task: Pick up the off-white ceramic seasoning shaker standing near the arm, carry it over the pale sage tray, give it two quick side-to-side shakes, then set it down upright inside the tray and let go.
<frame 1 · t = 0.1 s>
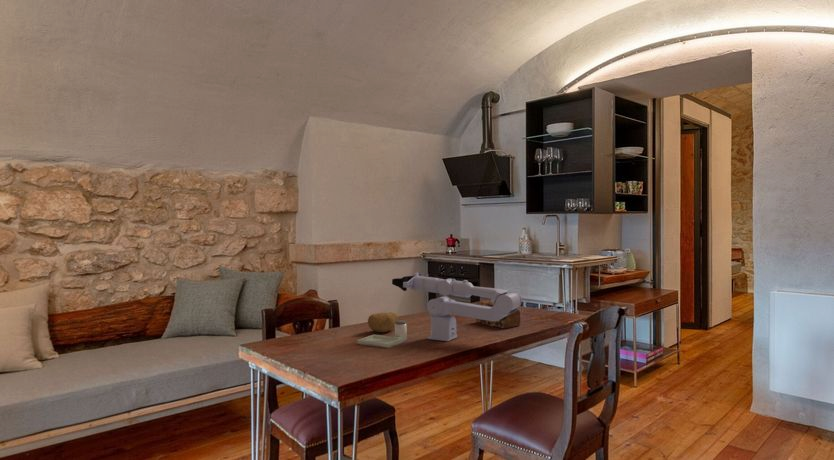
hand: (398, 280, 202), 22 cm above the table, tool horizontal, fingers open, 7 cm apart
bread: (497, 325, 216), on the table
tray: (380, 343, 186), on the table
potato: (383, 332, 206), on the table
shaker: (400, 339, 192), on the table
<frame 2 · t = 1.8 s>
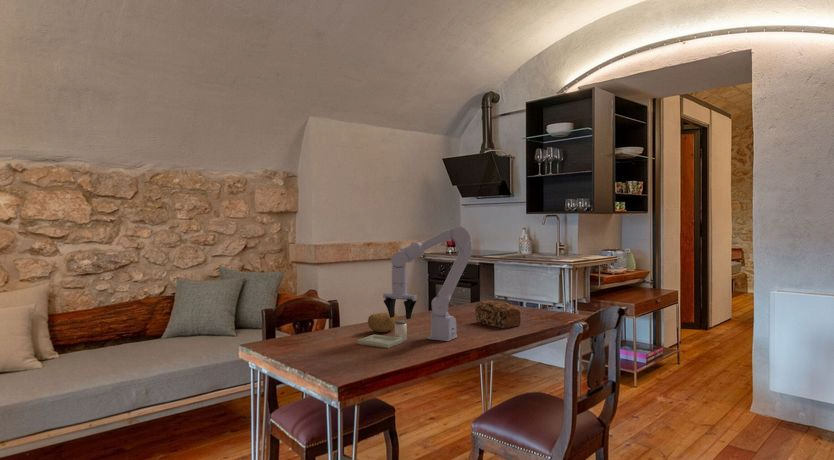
hand: (400, 318, 192), 8 cm above the table, tool pointing down, fingers open, 7 cm apart
nothing on the table moved.
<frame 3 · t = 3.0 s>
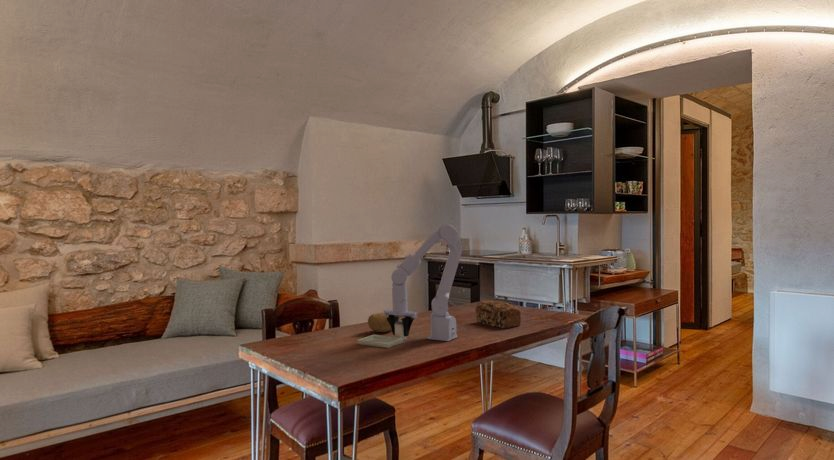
hand: (400, 335, 192), 1 cm above the table, tool pointing down, fingers closed on shaker, 5 cm apart
shaker: (400, 339, 192), on the table, touching gripper
everything else where it was.
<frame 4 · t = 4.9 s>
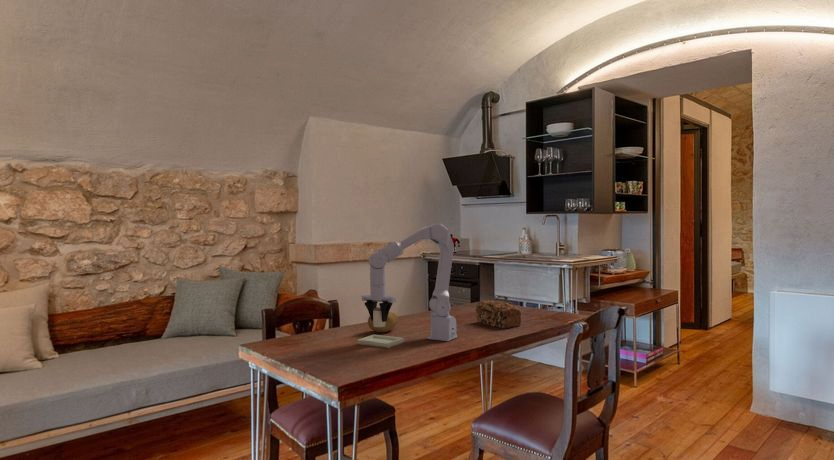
hand: (378, 320, 186), 8 cm above the table, tool pointing down, fingers closed on shaker, 5 cm apart
shaker: (379, 326, 187), point 6 cm above the table, touching gripper
everything else where it was.
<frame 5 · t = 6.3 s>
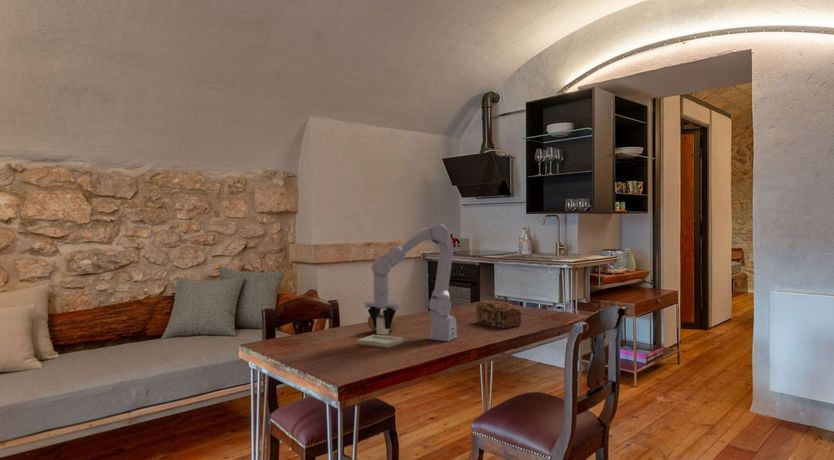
hand: (382, 327, 186), 6 cm above the table, tool pointing down, fingers closed on shaker, 5 cm apart
shaker: (382, 333, 186), point 4 cm above the table, touching gripper
everything else where it was.
when the fingers open (3 cm above the table, at t = 7.2 s): shaker stays where it is, resting on tray.
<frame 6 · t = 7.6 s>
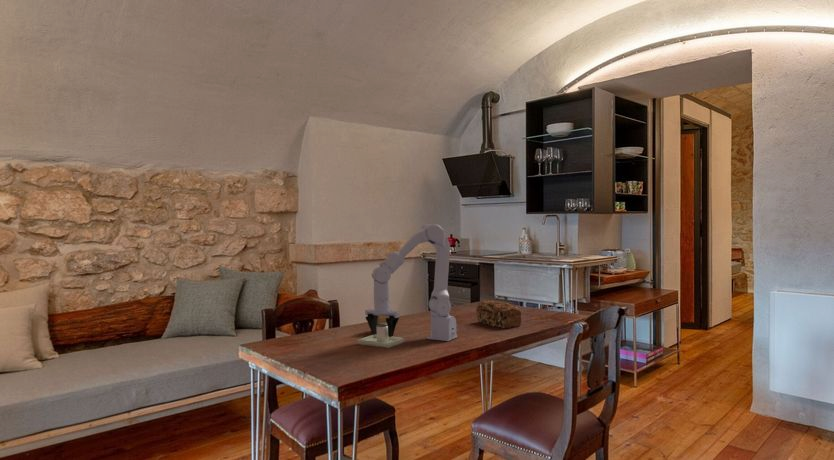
hand: (382, 335, 186), 3 cm above the table, tool pointing down, fingers open, 7 cm apart
shaker: (383, 341, 186), point 1 cm above the table, touching tray
everything else where it was.
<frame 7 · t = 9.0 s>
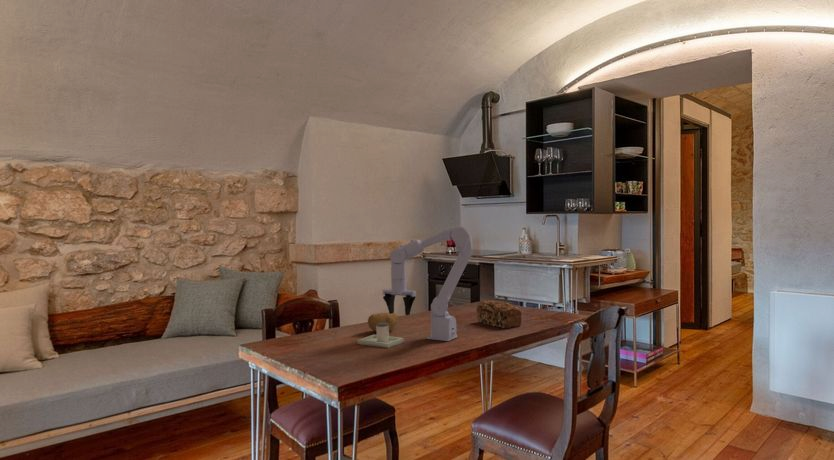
hand: (399, 314, 193), 9 cm above the table, tool pointing down, fingers open, 7 cm apart
nothing on the table moved.
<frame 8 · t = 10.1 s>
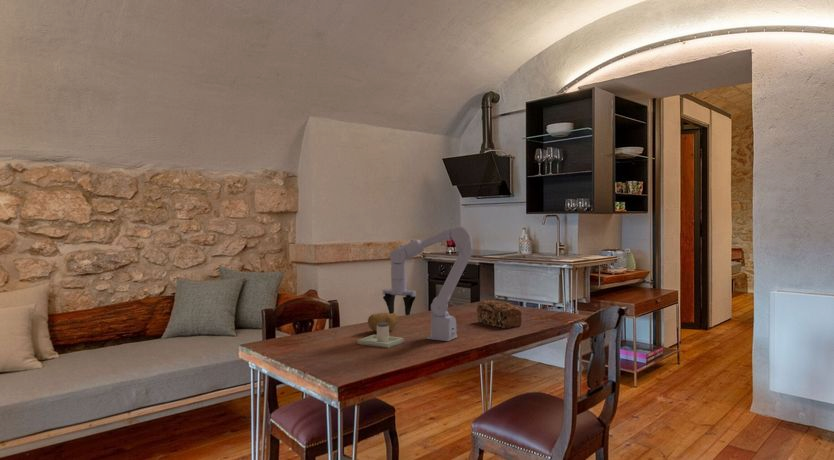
hand: (399, 314, 193), 9 cm above the table, tool pointing down, fingers open, 7 cm apart
nothing on the table moved.
at the end: shaker inside the target area on the tray (1.0 cm from its centre), point 0.6 cm above the tray's base; shaker tilted 1°; the gripper is holding nothing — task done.
